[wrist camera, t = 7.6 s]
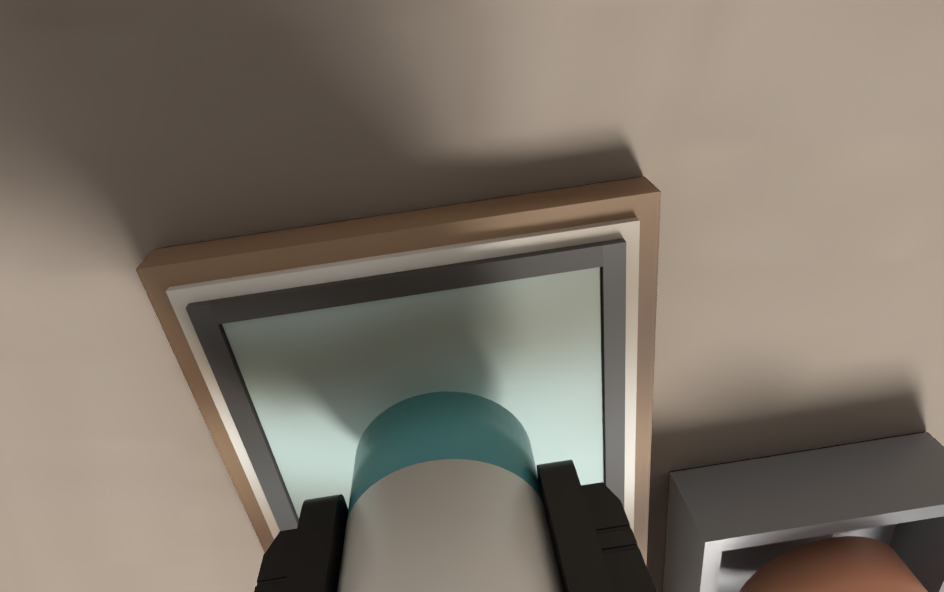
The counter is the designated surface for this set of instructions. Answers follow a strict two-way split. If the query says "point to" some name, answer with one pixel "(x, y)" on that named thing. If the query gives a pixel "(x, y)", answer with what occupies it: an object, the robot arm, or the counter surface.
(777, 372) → the counter surface
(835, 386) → the counter surface
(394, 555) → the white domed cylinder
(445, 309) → the framed mirror
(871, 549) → the button
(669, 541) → the button housing
